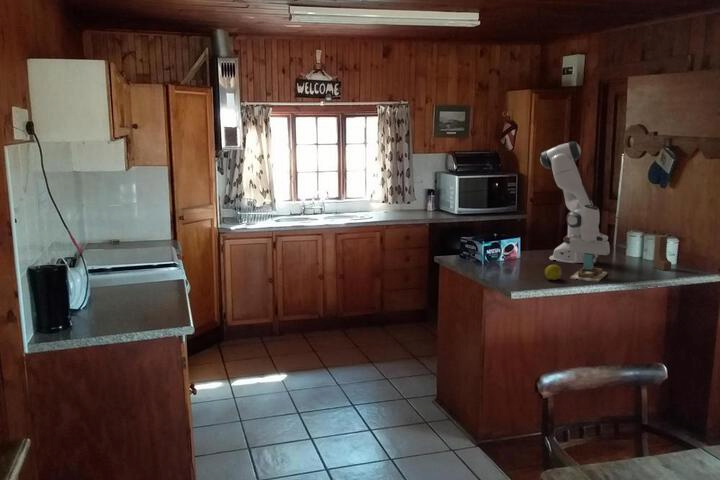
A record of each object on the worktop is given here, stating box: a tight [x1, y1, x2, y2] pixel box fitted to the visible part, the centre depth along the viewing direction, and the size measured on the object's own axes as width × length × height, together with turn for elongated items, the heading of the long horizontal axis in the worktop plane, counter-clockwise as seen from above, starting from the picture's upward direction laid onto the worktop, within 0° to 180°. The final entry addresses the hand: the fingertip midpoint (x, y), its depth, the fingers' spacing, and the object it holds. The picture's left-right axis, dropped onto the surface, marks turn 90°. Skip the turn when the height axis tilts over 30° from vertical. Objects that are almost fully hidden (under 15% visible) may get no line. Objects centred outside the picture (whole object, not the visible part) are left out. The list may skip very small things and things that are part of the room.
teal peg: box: [582, 253, 595, 270], centre depth 332 cm, size 4×4×8 cm
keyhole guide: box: [569, 267, 608, 283], centre depth 331 cm, size 14×20×3 cm
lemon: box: [544, 264, 563, 281], centre depth 325 cm, size 11×8×8 cm
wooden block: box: [653, 234, 672, 271], centre depth 343 cm, size 9×4×18 cm, turn 12°
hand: (588, 261), depth 332 cm, fingers closed on teal peg, 4 cm apart
